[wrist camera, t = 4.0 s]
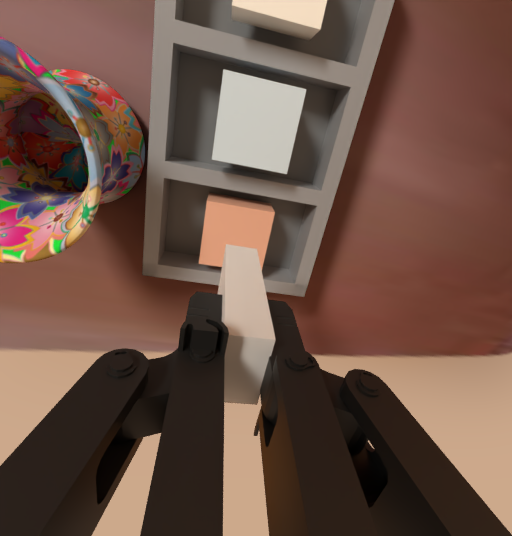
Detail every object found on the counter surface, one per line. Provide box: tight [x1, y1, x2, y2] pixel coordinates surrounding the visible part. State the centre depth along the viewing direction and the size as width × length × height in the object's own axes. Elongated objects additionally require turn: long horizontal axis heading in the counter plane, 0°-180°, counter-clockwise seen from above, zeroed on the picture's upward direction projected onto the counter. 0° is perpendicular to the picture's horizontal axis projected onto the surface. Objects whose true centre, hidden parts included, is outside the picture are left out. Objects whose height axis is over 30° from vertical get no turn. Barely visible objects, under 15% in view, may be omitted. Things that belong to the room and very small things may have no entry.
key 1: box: [199, 193, 275, 271], centre depth 22 cm, size 4×4×2 cm
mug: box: [0, 36, 145, 263], centre depth 17 cm, size 12×9×11 cm
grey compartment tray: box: [142, 0, 395, 297], centre depth 20 cm, size 22×12×4 cm, turn 169°
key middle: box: [212, 69, 307, 174], centre depth 18 cm, size 4×4×2 cm
